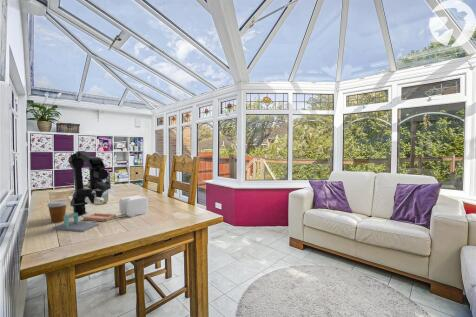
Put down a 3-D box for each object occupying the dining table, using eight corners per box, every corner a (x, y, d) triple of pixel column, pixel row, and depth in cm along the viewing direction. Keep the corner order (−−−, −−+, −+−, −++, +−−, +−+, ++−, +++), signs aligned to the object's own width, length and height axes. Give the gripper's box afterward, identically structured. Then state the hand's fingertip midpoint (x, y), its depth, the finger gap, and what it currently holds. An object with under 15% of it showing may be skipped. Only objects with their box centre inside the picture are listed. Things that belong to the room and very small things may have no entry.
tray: (83, 219, 145) (83, 217, 145) (95, 215, 154) (95, 212, 154) (105, 221, 142) (105, 218, 142) (116, 217, 151) (116, 214, 151)
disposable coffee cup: (46, 224, 136) (45, 204, 135) (50, 220, 144) (49, 201, 144) (66, 222, 140) (65, 202, 140) (69, 218, 149) (68, 199, 148)
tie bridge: (64, 226, 130) (63, 216, 129) (75, 222, 137) (75, 212, 136) (67, 226, 129) (66, 216, 129) (78, 222, 136) (78, 212, 136)
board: (53, 229, 129) (52, 227, 129) (70, 222, 140) (70, 221, 140) (83, 231, 125) (83, 230, 125) (99, 225, 136) (99, 223, 136)
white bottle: (84, 202, 142) (85, 196, 143) (89, 203, 146) (91, 197, 147) (99, 203, 140) (101, 197, 141) (104, 204, 143) (105, 198, 145)
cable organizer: (126, 218, 148) (126, 200, 148) (119, 215, 155) (118, 198, 154) (148, 213, 160) (148, 196, 159) (140, 210, 167) (140, 194, 166)
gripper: (93, 180, 132) (94, 207, 133) (117, 176, 150) (117, 200, 151) (77, 179, 134) (78, 206, 135) (102, 175, 152) (103, 199, 153)
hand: (95, 202), depth 143 cm, fingers closed on white bottle, 4 cm apart
